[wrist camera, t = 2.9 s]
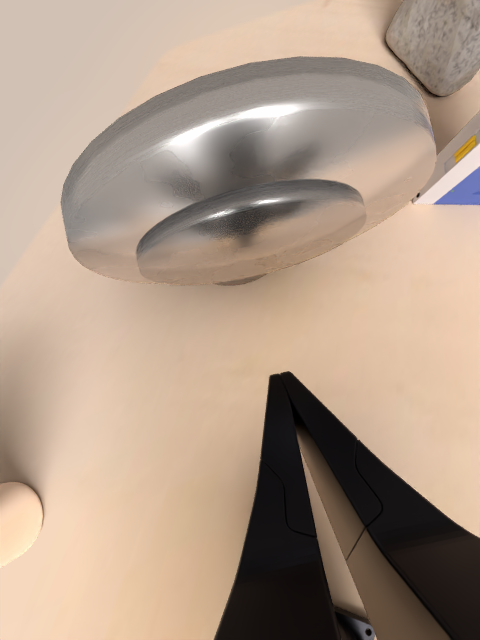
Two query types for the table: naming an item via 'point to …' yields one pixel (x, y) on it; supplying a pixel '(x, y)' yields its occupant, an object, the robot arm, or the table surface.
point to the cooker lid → (247, 171)
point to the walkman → (456, 170)
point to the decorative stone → (438, 41)
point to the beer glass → (18, 520)
